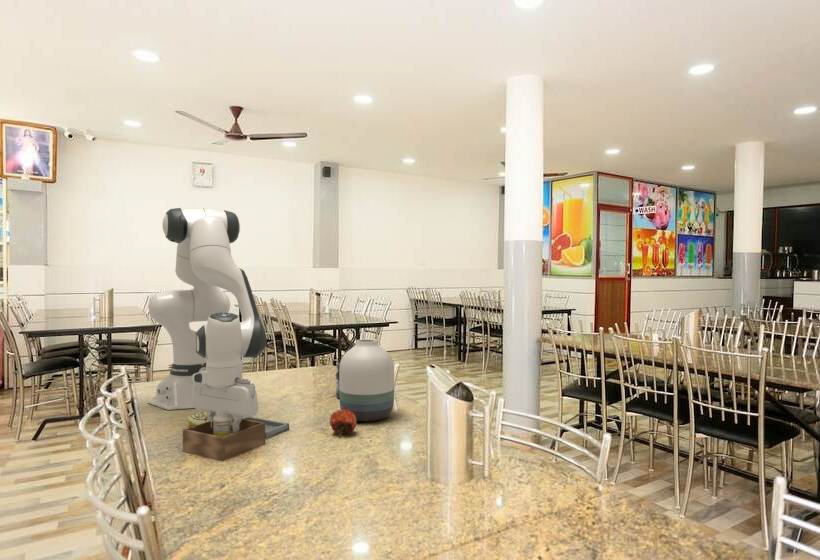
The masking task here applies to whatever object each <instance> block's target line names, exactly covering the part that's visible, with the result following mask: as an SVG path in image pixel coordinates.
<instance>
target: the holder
mask: <svg viewBox="0 0 820 560" xmlns="http://www.w3.org/2000/svg"><path fill="white" fill-rule="evenodd" d="M265 444H266V440H265V423H264V422H258V421H253V420H247V419H242V420H241V422H240V424H239V431H238V432H236V433H233V434H231V435H228V436H225V437H220V436H215V435H213V428H211V421H208V422H205V423H202V424H199V425H196V426H193V427H190V426H189V427H188V428H187V427H186V428H184V429H182V452H183V451H184V452H185V453H188V454H193V455H196V456H200V455H201V456H200V457H205V458H209V459H213V460H217V461H222V462H224V461H227V460H229V459H231V458H233V457H236V456H238V455H241V454H244V453H246V452H249V451H251V450H253V449H255V448H258V447H260V446H263V445H265ZM184 452H183V453H184Z"/></svg>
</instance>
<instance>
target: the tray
mask: <svg viewBox="0 0 820 560" xmlns="http://www.w3.org/2000/svg"><path fill="white" fill-rule="evenodd" d="M242 419H247V420H253V421H258V422H264V423H265V439H266V440H268V439H271V438H272V437H275V436H278V435H280V434H283V433H285V432H288V431H290V423H287V422H283V421H277V420H271V419H265V418H259V417H256V416H255V417H254V416H251V417H248V418H245V417H243V418H242ZM287 430H288V431H287ZM282 432H283V433H282ZM270 437H271V438H270Z"/></svg>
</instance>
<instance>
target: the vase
mask: <svg viewBox="0 0 820 560" xmlns="http://www.w3.org/2000/svg"><path fill="white" fill-rule="evenodd" d="M339 363H340V368H339V396H340V399H339V407H340V410H342V409H345V408H346V409H348V410H349V411H352V412H353V413H354V414H355V417H356V422H375V421H380V420H383V419H385V418H387V417H389V415H390V414H391V413H392V411H393V408H394V405H395V364H394V360H393V358H392V356H391V355H390V353H389V352H388V351H387V350H386V349H385V348H383V347H382V346H380V345H379V343H378V340H377V339H375V338H374V339H373V338H363V339H357V340H356V342H355V345H354V346H352V347H351V348H350V349H348V350H347V351H346V352H345V353H344V354H343V355H342V357H341V359H340V362H339Z"/></svg>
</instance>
